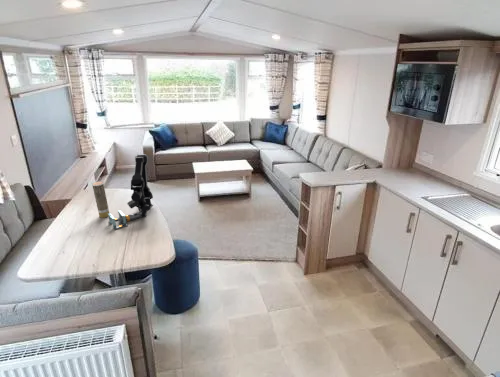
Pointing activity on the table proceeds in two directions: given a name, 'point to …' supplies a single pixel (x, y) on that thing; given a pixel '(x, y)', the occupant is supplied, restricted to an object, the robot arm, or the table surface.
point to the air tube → (131, 217)
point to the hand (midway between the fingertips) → (142, 215)
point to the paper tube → (101, 199)
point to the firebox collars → (112, 220)
